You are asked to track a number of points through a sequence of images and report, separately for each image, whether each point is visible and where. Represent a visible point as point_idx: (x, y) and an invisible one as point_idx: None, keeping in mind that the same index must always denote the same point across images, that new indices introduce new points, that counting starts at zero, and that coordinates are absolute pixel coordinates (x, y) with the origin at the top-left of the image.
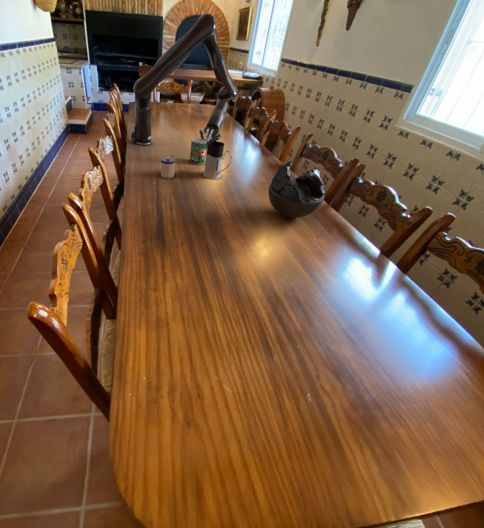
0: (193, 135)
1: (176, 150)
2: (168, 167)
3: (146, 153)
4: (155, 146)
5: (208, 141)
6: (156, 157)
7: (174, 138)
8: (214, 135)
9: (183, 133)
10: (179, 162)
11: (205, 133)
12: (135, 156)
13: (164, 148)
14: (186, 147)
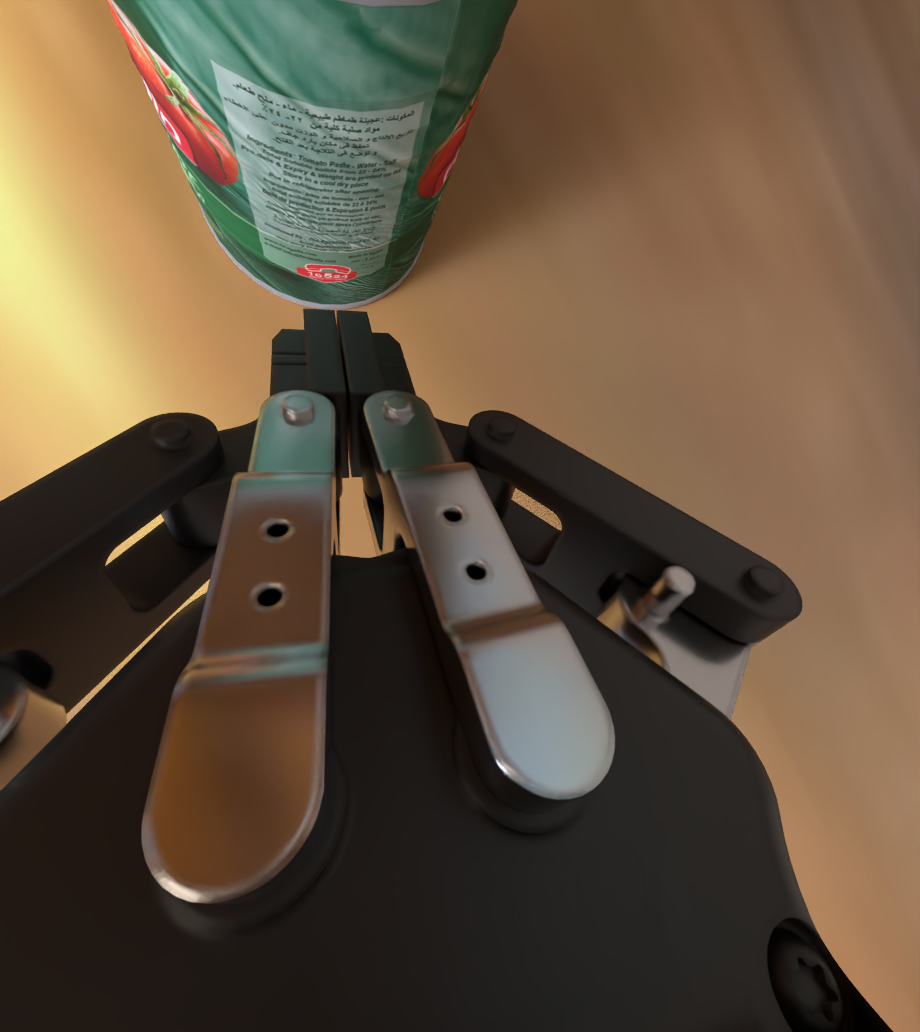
0: None
1: (721, 449)
2: None
3: (872, 155)
4: (902, 410)
5: (268, 402)
6: (760, 88)
7: (887, 761)
8: (124, 683)
9: (894, 959)
10: (497, 54)
11: (539, 579)
12: (899, 5)
13: (826, 417)
14: None
